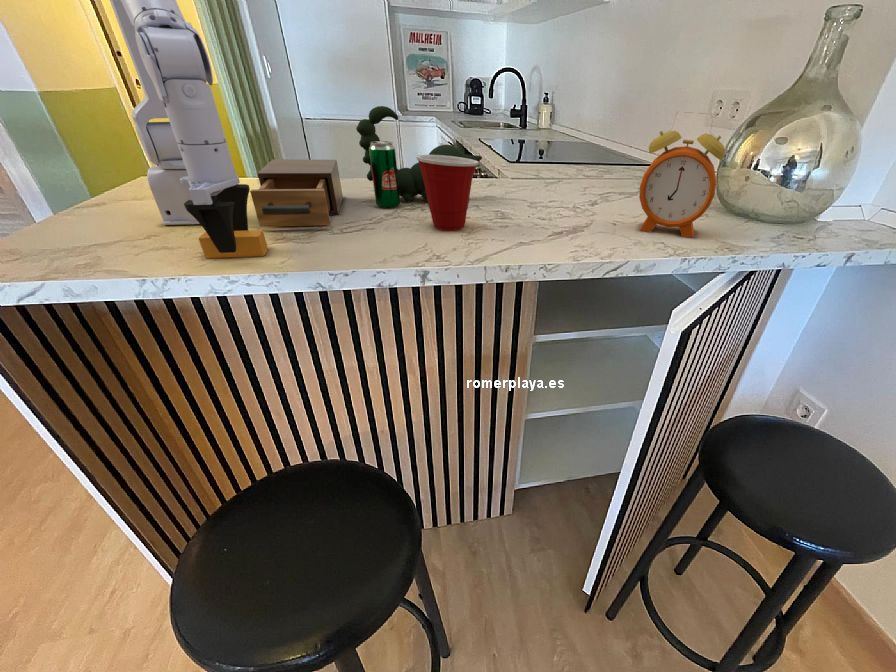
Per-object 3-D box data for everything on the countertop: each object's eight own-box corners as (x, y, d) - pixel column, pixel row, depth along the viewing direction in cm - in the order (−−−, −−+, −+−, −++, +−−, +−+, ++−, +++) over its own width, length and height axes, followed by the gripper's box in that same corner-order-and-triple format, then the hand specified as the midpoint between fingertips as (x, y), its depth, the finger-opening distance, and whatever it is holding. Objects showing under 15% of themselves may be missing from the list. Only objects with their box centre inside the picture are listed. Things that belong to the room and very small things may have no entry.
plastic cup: (490, 227, 85) (491, 158, 78) (446, 239, 78) (443, 163, 71) (453, 215, 91) (450, 149, 84) (409, 225, 84) (403, 154, 77)
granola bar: (205, 258, 66) (198, 238, 64) (211, 251, 69) (204, 231, 67) (264, 256, 68) (258, 236, 66) (268, 249, 70) (262, 229, 69)
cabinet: (338, 215, 87) (331, 173, 83) (268, 216, 85) (257, 173, 80) (343, 197, 99) (336, 159, 95) (281, 198, 96) (272, 159, 92)
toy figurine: (372, 212, 96) (487, 202, 98) (348, 110, 85) (479, 101, 87) (376, 201, 103) (483, 192, 106) (355, 106, 92) (475, 98, 94)
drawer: (327, 233, 75) (320, 196, 72) (254, 235, 73) (243, 197, 69) (335, 205, 90) (330, 174, 86) (274, 206, 87) (266, 174, 84)
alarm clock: (631, 230, 87) (654, 111, 76) (635, 222, 92) (657, 109, 80) (701, 240, 84) (737, 116, 72) (702, 231, 89) (735, 114, 77)
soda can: (387, 210, 92) (379, 144, 85) (371, 205, 94) (362, 141, 87) (405, 206, 95) (399, 142, 88) (390, 201, 97) (383, 139, 90)
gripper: (186, 134, 64) (218, 230, 72) (145, 150, 53) (188, 261, 61) (240, 135, 66) (266, 228, 74) (211, 150, 54) (245, 259, 62)
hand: (234, 243), depth 67 cm, fingers open, 7 cm apart
